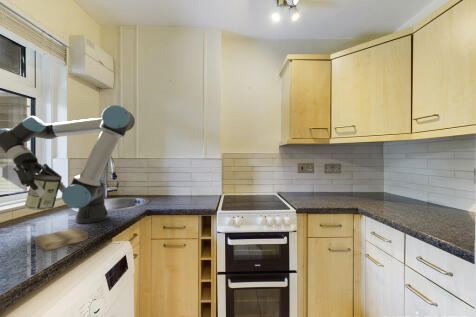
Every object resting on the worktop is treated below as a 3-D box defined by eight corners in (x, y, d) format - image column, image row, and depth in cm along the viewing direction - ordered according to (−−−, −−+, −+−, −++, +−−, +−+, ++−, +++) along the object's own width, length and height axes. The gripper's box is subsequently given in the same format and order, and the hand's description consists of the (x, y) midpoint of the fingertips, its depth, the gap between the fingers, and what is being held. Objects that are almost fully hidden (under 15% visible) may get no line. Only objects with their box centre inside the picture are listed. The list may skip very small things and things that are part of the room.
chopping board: (75, 233, 99) (75, 227, 99) (88, 239, 92) (88, 233, 92) (35, 243, 88) (35, 237, 88) (45, 251, 81) (45, 244, 81)
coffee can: (37, 201, 103) (45, 173, 104) (59, 206, 104) (67, 178, 104) (17, 206, 93) (25, 174, 93) (41, 211, 94) (50, 180, 94)
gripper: (41, 162, 111) (69, 193, 110) (-13, 163, 88) (22, 203, 88) (51, 152, 111) (79, 183, 110) (0, 151, 88) (35, 190, 87)
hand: (54, 192), depth 99 cm, fingers closed on coffee can, 10 cm apart
